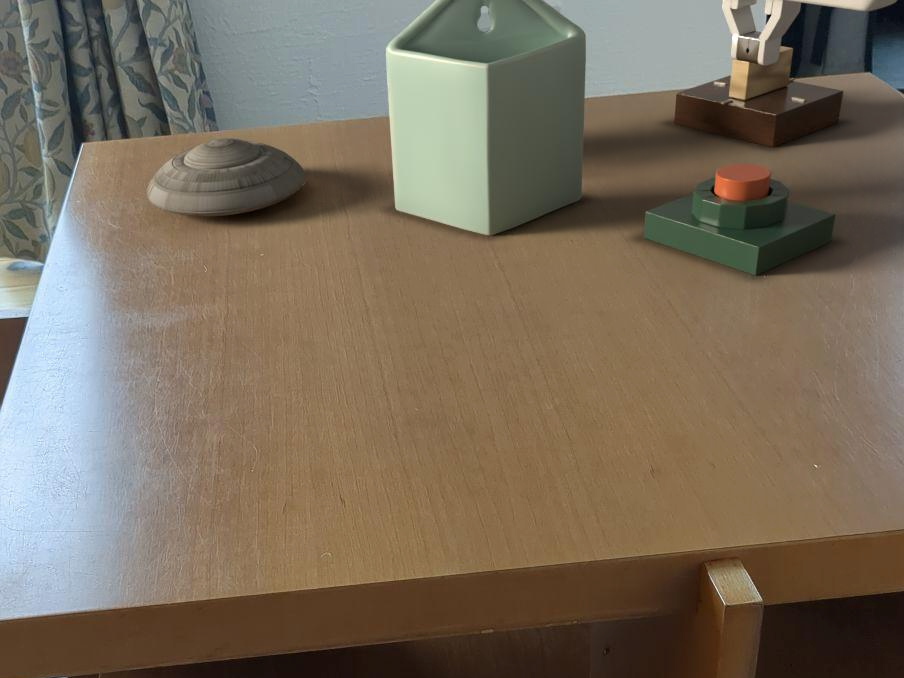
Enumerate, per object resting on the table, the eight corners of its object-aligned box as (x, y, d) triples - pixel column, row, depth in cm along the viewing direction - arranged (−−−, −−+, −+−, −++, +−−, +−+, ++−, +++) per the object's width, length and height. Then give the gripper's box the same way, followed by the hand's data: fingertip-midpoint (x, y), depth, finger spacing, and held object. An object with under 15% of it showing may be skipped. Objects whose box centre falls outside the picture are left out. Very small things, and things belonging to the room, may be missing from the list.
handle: (771, 82, 115) (776, 42, 112) (788, 85, 113) (793, 45, 111) (728, 96, 112) (732, 56, 110) (745, 100, 110) (749, 59, 108)
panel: (840, 121, 113) (846, 88, 111) (770, 148, 108) (774, 113, 106) (741, 100, 121) (744, 68, 119) (671, 124, 116) (674, 91, 114)
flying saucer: (141, 187, 113) (130, 131, 110) (291, 164, 115) (284, 107, 112) (157, 239, 101) (146, 177, 98) (324, 212, 103) (317, 150, 100)
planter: (392, 241, 96) (375, -16, 85) (395, 207, 103) (379, -36, 91) (590, 230, 95) (600, -33, 83) (580, 197, 101) (588, -52, 90)
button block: (831, 241, 89) (839, 190, 87) (755, 275, 85) (762, 223, 83) (717, 208, 97) (722, 160, 94) (643, 237, 93) (646, 188, 90)
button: (779, 194, 88) (782, 171, 87) (744, 207, 87) (747, 185, 86) (736, 182, 91) (739, 160, 90) (702, 195, 89) (704, 173, 88)
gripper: (958, -164, 69) (910, 75, 78) (693, -171, 83) (676, 33, 91) (895, -151, 67) (853, 96, 75) (632, -160, 81) (620, 49, 89)
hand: (754, 61), depth 83 cm, fingers closed
